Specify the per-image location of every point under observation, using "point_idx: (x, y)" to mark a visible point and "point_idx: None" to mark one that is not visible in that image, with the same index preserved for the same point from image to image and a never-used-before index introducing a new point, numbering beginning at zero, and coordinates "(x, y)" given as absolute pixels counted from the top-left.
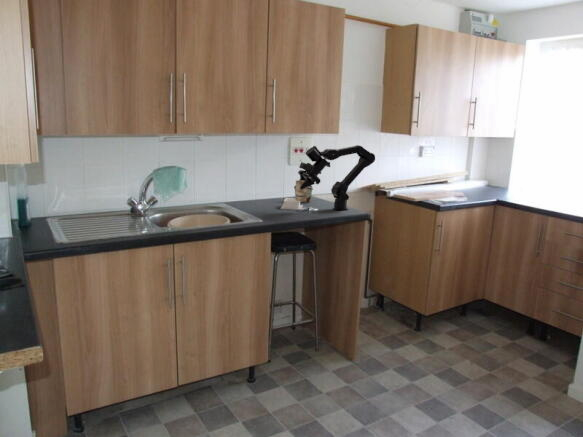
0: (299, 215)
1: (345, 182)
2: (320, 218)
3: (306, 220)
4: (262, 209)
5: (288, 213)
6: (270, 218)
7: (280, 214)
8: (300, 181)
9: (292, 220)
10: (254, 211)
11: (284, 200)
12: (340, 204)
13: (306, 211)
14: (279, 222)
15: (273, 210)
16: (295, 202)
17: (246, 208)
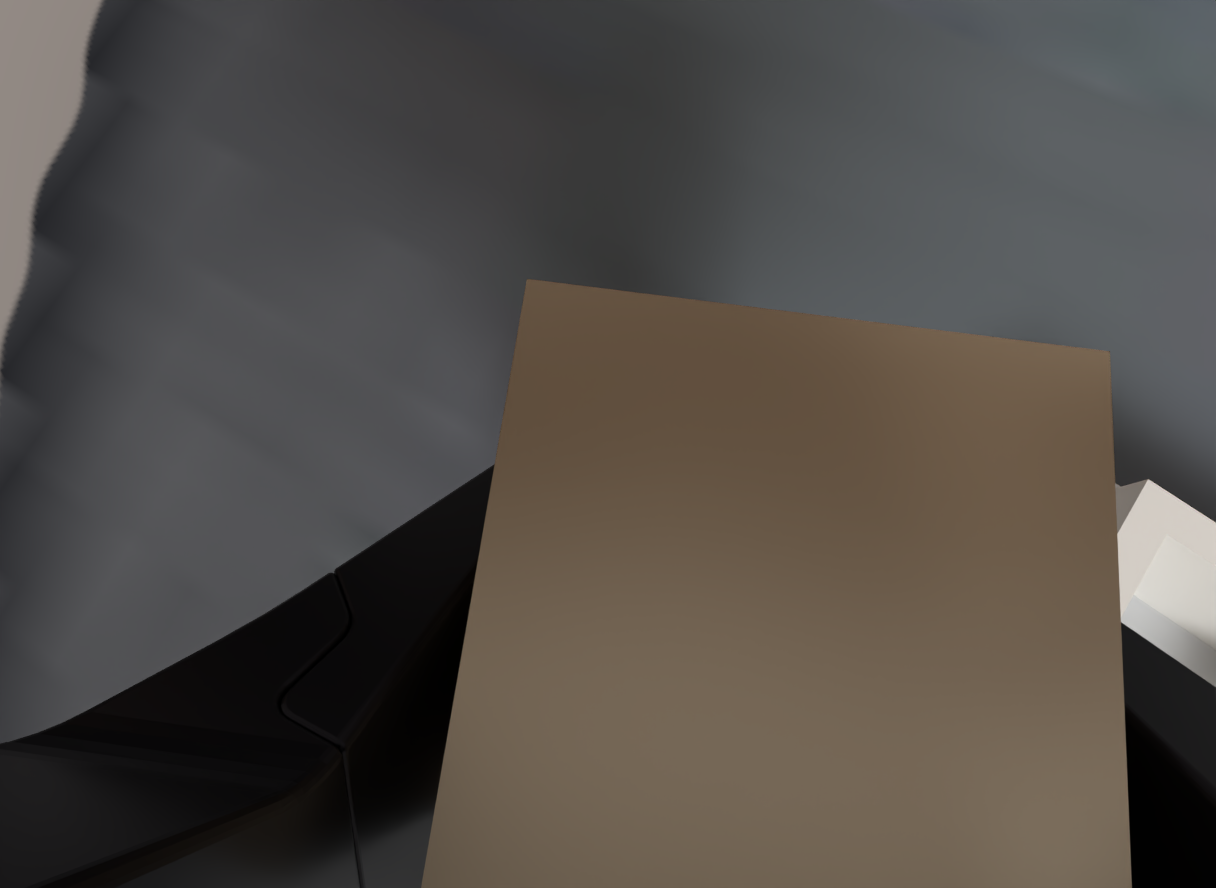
0: (430, 470)
1: None
2: (47, 679)
3: (73, 383)
4: (1075, 169)
5: None
6: (460, 13)
7: (631, 240)
8: (609, 431)
9: (195, 204)
10: (968, 18)
11: (1184, 509)
12: None
13: None
14: (195, 9)
15: (949, 281)
16: None
17: (1208, 7)
